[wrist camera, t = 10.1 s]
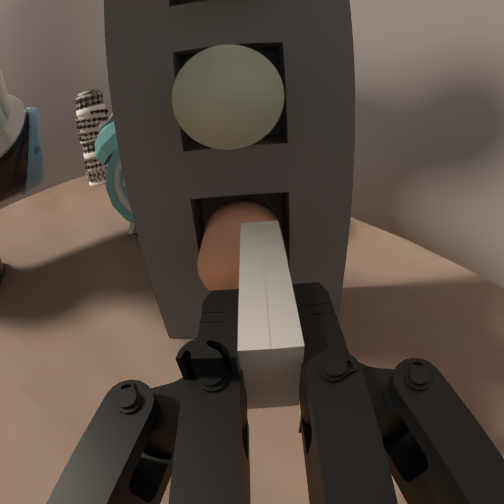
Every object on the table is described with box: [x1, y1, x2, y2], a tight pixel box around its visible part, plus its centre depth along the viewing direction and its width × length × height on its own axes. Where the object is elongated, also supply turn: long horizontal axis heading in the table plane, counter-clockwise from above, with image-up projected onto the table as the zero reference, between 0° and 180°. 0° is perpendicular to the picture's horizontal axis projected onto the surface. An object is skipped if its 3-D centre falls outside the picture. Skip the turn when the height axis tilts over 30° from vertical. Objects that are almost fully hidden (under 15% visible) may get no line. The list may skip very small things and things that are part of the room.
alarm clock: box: [94, 113, 137, 234], centre depth 40 cm, size 17×10×20 cm, turn 99°
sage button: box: [172, 44, 284, 150], centre depth 14 cm, size 4×5×5 cm
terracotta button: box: [197, 199, 288, 291], centre depth 18 cm, size 4×5×5 cm
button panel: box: [104, 0, 355, 338], centre depth 18 cm, size 6×14×33 cm, turn 91°
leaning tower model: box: [75, 89, 109, 186], centre depth 65 cm, size 9×9×25 cm
